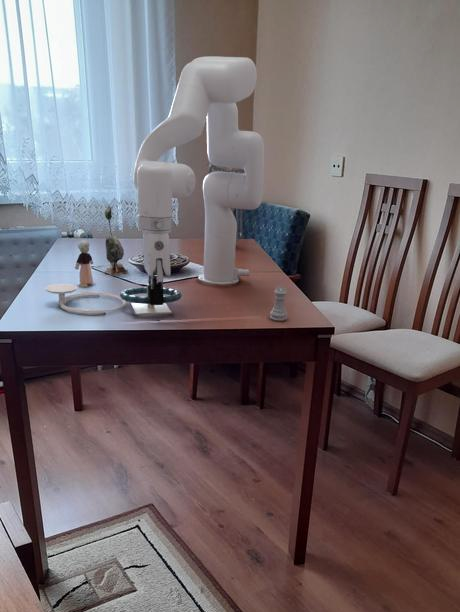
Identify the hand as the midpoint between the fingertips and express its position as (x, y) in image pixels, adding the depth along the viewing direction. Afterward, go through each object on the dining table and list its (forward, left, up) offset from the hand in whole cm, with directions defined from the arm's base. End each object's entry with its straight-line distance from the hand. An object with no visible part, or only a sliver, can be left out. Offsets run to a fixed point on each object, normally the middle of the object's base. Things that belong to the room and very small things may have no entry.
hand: (155, 302), depth 134 cm
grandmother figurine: (+14, -35, -5) cm, 38 cm away
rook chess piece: (-31, +3, -5) cm, 32 cm away
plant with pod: (+4, -47, -5) cm, 47 cm away
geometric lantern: (-44, -89, -5) cm, 99 cm away
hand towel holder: (+15, -15, -5) cm, 22 cm away
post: (0, -7, -4) cm, 8 cm away
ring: (0, -7, 0) cm, 7 cm away
